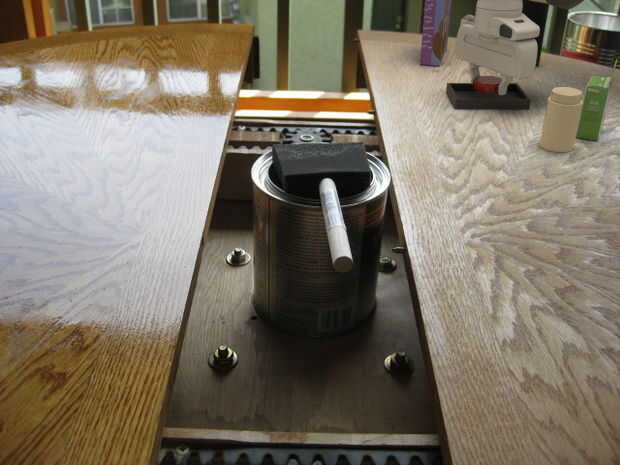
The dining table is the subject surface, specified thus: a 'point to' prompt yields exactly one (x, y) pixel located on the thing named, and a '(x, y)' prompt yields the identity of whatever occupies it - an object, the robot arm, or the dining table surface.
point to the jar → (561, 119)
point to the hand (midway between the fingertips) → (488, 89)
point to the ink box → (594, 107)
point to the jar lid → (486, 83)
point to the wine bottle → (537, 20)
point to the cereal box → (435, 31)
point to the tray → (486, 97)
